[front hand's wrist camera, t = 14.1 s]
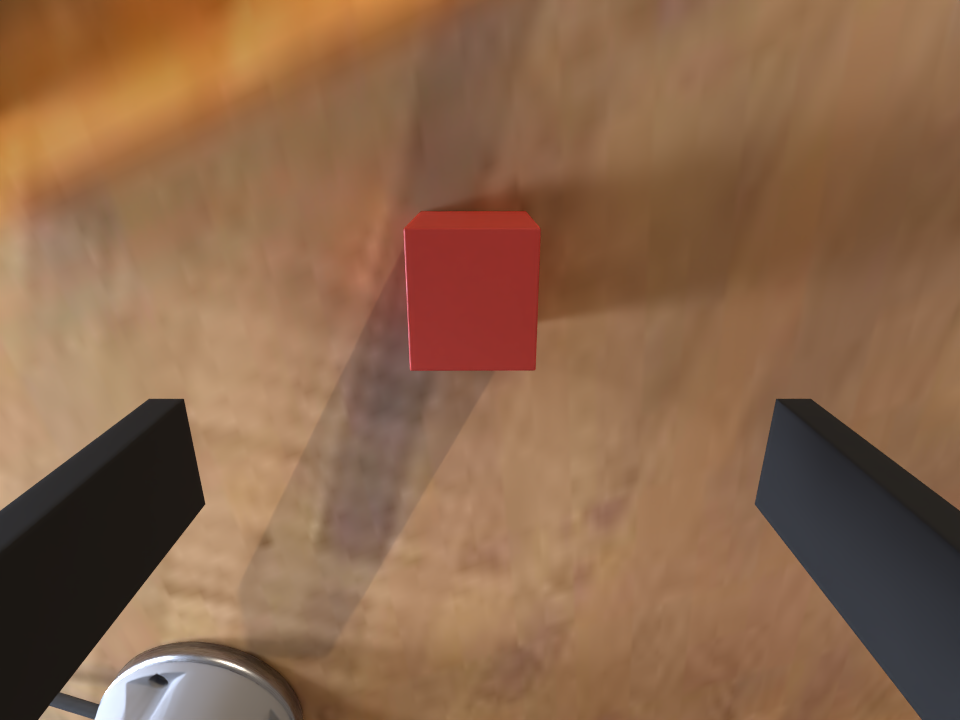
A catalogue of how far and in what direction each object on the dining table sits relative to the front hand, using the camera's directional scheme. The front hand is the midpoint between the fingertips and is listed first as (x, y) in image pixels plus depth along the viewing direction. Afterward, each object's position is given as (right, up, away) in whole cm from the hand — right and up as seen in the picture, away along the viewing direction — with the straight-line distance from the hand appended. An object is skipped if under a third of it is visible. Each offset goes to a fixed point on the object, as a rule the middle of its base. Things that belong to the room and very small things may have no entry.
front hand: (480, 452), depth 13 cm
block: (0, +7, +20) cm, 22 cm away
